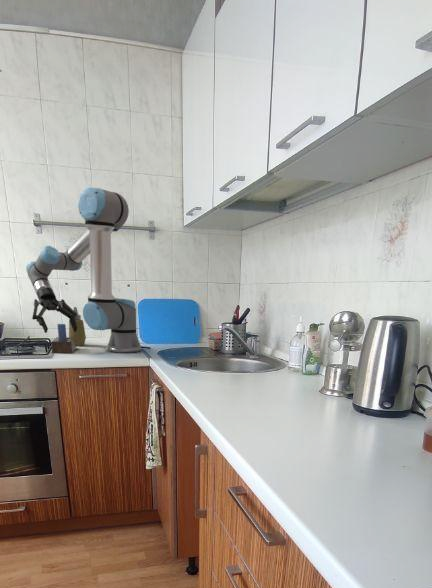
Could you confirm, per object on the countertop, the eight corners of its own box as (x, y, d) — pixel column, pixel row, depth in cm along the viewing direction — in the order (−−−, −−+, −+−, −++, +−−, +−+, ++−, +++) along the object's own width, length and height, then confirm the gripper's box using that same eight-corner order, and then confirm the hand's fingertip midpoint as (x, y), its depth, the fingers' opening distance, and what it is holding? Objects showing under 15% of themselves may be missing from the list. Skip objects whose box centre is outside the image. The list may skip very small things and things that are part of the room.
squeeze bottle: (82, 346, 226) (79, 308, 220) (66, 345, 228) (63, 307, 221) (89, 344, 234) (86, 307, 227) (73, 343, 235) (70, 306, 228)
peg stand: (76, 348, 222) (75, 337, 220) (72, 353, 208) (71, 341, 206) (57, 347, 221) (56, 337, 219) (52, 353, 207) (51, 341, 205)
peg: (68, 351, 213) (65, 323, 209) (67, 352, 210) (64, 324, 206) (60, 351, 213) (58, 323, 208) (59, 352, 210) (56, 324, 205)
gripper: (68, 298, 224) (85, 334, 219) (15, 298, 209) (31, 337, 204) (72, 287, 218) (89, 323, 213) (18, 286, 203) (35, 325, 198)
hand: (61, 330), depth 209 cm, fingers open, 13 cm apart
